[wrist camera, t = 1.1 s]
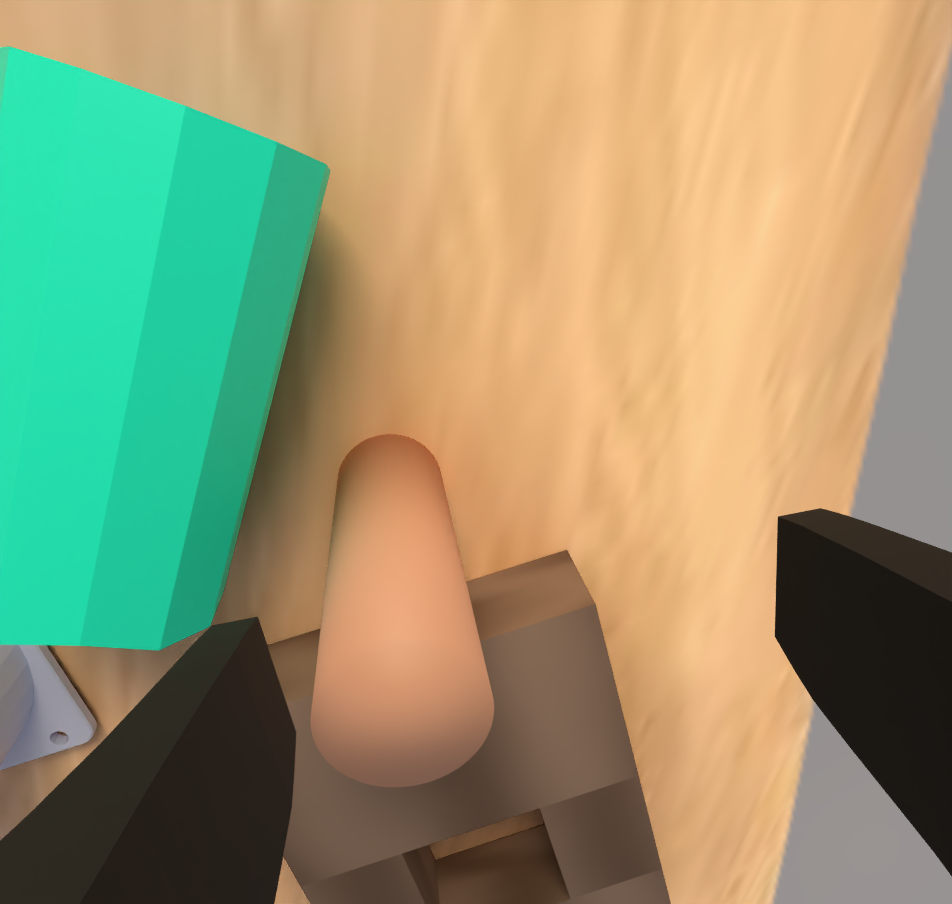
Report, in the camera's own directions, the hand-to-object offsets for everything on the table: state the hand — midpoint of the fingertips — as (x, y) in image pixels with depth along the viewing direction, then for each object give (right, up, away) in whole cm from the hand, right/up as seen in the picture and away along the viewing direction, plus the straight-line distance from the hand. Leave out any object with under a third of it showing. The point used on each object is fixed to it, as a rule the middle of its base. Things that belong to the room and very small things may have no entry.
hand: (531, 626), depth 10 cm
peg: (-3, +1, +11) cm, 11 cm away
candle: (-6, +9, +4) cm, 12 cm away
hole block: (-1, -10, +16) cm, 19 cm away
